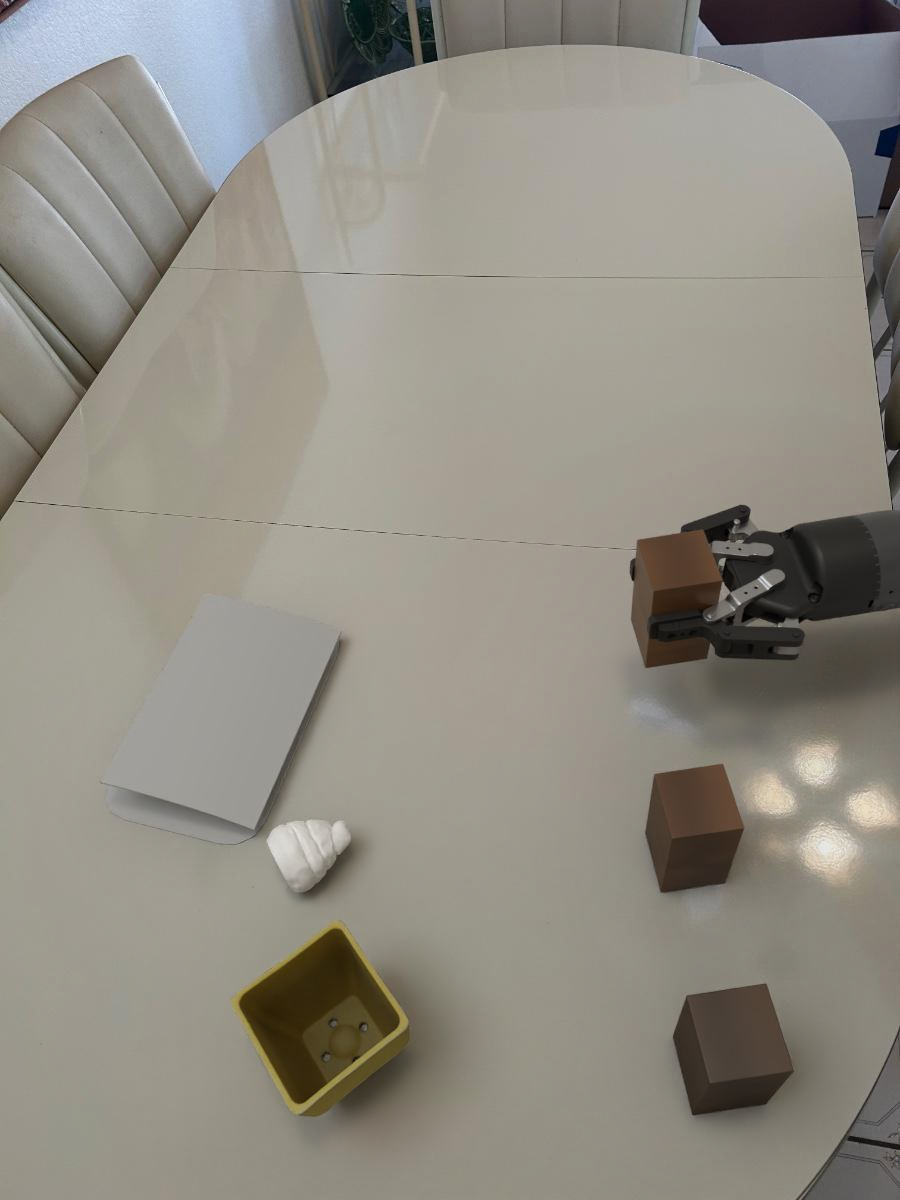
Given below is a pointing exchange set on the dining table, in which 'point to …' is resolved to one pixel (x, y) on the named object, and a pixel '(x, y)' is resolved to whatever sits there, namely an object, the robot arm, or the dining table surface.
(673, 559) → the walnut block far
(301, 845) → the white swirl cone
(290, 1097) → the flower pot
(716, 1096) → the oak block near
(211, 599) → the book
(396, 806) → the dining table surface
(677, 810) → the walnut block middle
